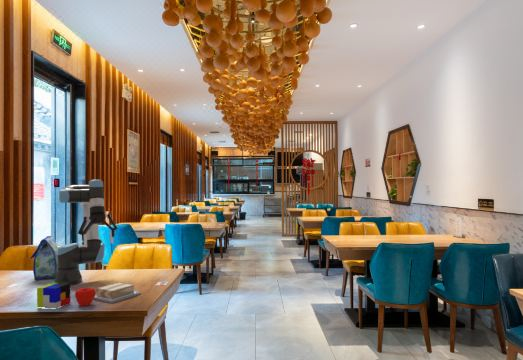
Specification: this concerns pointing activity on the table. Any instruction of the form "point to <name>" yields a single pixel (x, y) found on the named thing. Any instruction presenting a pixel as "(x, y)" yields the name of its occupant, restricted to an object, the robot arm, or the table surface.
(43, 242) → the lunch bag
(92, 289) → the apple
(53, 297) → the puzzle toy
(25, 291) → the table surface
